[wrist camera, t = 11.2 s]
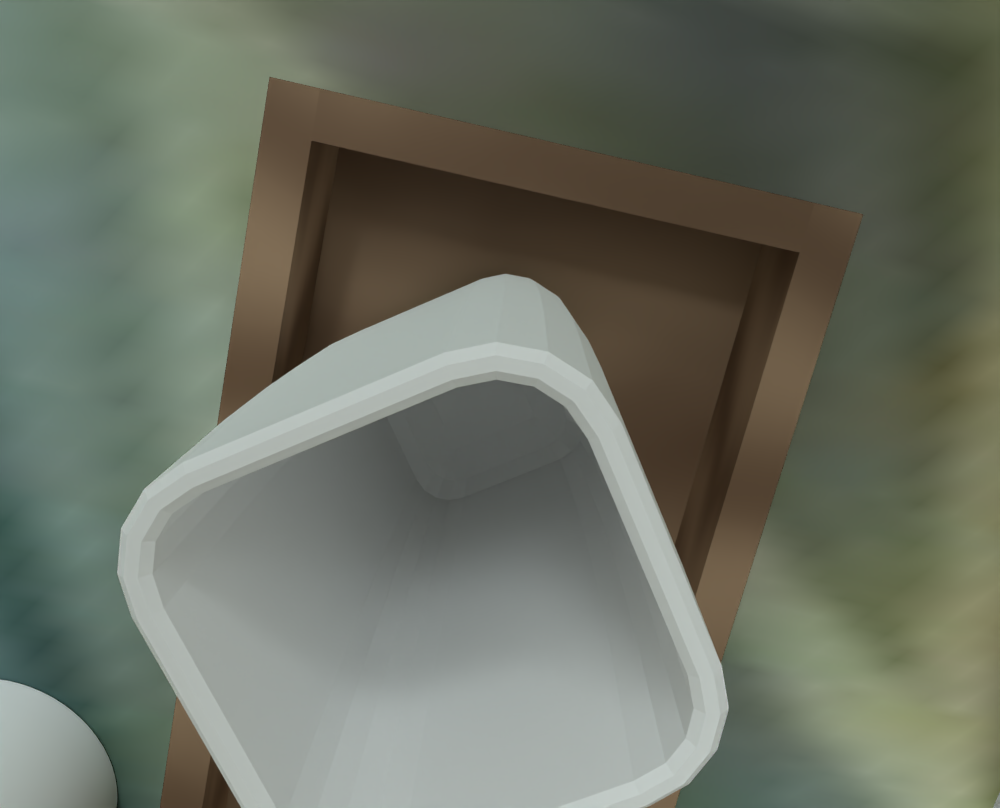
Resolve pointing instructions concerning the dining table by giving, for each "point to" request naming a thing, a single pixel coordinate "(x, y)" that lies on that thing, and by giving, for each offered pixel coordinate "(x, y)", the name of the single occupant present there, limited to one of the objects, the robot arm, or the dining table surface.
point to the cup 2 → (429, 577)
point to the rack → (563, 271)
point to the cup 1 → (49, 754)
